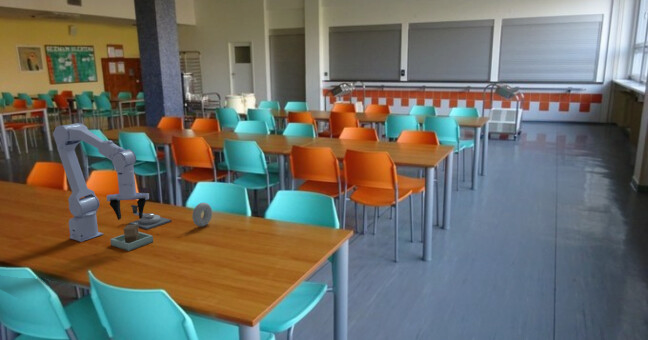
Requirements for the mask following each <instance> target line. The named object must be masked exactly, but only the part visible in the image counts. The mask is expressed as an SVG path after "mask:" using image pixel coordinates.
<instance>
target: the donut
mask: <svg viewBox="0 0 648 340" xmlns="http://www.w3.org/2000/svg"><path fill="white" fill-rule="evenodd" d="M202 213H203V215H202ZM212 216H213V209H212V207H211V205H210V204H209V203H207V202H200V203H198V204H197V205H196V206H195V208H194V209H193V211H192V220H193V221H192V222H193V223H194V225H196V226H197V227H205V226H207V225H208V224H209V223H210V222H211V220H212V218H213V217H212Z"/></svg>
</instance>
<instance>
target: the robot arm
mask: <svg viewBox="0 0 648 340" xmlns="http://www.w3.org/2000/svg"><path fill="white" fill-rule="evenodd" d="M52 136H53V138H54V141H55V144H56V149H57V152H58V155H59V158H60V161H61V164H62V167H63V170H64V172H65V175H66V178H67V181H68V184H69V187H70V189H71V194H70V195H69V197H68V198H67V201H68V204H69V205H68V208H69V209H68V210H69V212H70V213H71V215H72V216H73V217H71V218H70V219H69V220H68V229H69V239H71V240H75V241H77V242H81V243H82V242H84V241H88V240H91V239H94V238H96V237H100V236H103V235H104V232H100V231H99V229H98V228H99V227H98V219H97V213H98V210H99V208H100V199H99V198H98V197H97V196H96V194H95V191H94V190H93V189H90V188H88V186H87V183H86V180H85V178H84V177H85V176H84V175H83V174H84V173H83V171H82V169H81V166H80V162H79V159H78V156H77V154H76V150H75V149H76V148H77V146H78V145H79V144H80V143H81V142H82V141H83V142H85V143H86V144H89V146H92V147H94V148H96V149H97V151H98V153H99V154H100V155H101V156H103V157H105V158H107V159H108V160H110V161H111V162H112V163H111V164H112V165H113V166H114V169H115V172H116V175H117V182H118V183H117V185H118V193H115V194H114V193H113V194H107V195H106V202H109V206H110V207H111V208H112V210H113V211H114V213H115V214H116V215H115V216H116V218H117V220H118V221H119V220H121V219H122V212H121V211H122V210H121V201H129V200H130V201H131V200H133V201H134V200H136V204H137V206H138V208H137V210H138V212H139V216H138V218H139V219H138V220H140V219H141V218H142V217H143V213H144V208H145V205H146V203H147V200H149V199H150V192H149V193H148V192H147V193H146V192H137V190H136V189H137V188H136V180H135V172H134V171H135V170H134V169H135V168H134V164H136V161H137V155H136V154H135V152H134V151H133V150H132V149H130V148H129V149H124V148H123V147H122V146H119V145H117V144H115V143H114V141H113V140H109V139H107V140H103V139H101V138H100V137H99V136H98V135H96V134H95V133H93V132H92V131H90V129H88V127H87V125H84V124H83V123H82V122H76V123H71V124H64V125H57V126H56V127H55V128H54V131H53V133H52Z"/></svg>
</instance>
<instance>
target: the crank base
mask: <svg viewBox="0 0 648 340" xmlns="http://www.w3.org/2000/svg"><path fill="white" fill-rule="evenodd" d="M168 223H172V219H169V218H165V217H162V216H161V215H159V214H154V217H153V218H146V217H145V216H142V218H141V219H137V220H134V221H131V222H129V223H128V225H138V228H140V229H144V230H152V229H154V228H157V227H160V226H163V225H165V224H168Z"/></svg>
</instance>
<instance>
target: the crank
mask: <svg viewBox="0 0 648 340" xmlns="http://www.w3.org/2000/svg"><path fill="white" fill-rule="evenodd" d="M130 207H131V210H132V214H133V216H138V217H139V209H138V204H137V205H136V204H131V205H130ZM154 215H155V213H153V212H150V213H145V212H143V216H145V217H146V218H153V217H154ZM143 216H142V217H143Z"/></svg>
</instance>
